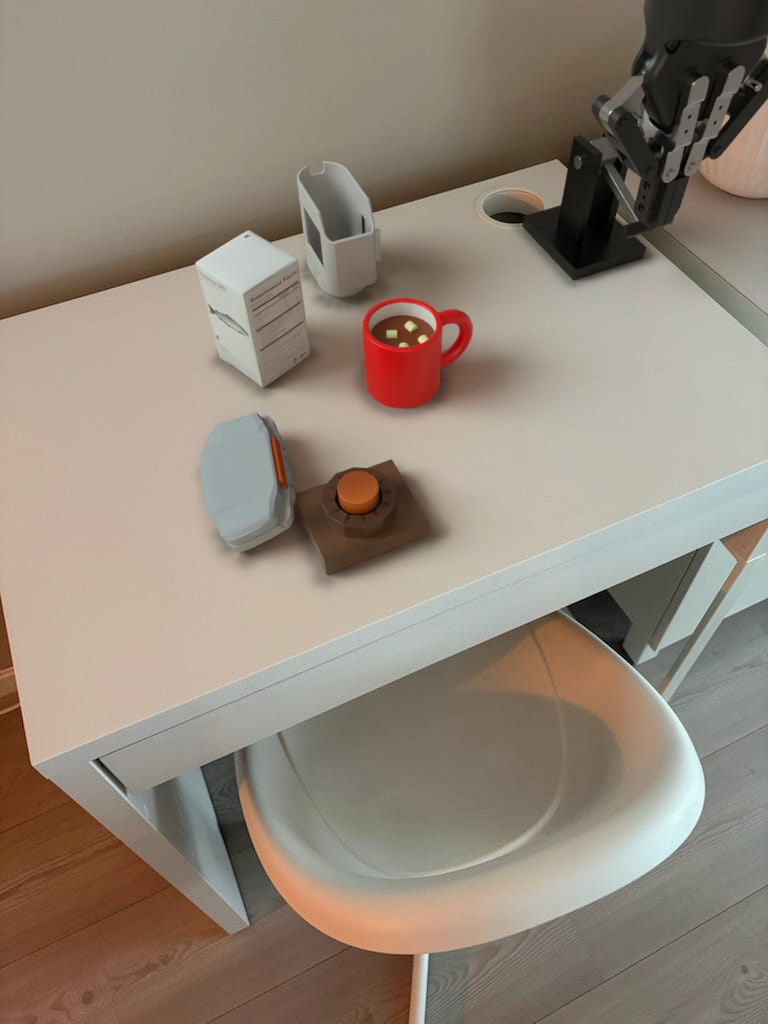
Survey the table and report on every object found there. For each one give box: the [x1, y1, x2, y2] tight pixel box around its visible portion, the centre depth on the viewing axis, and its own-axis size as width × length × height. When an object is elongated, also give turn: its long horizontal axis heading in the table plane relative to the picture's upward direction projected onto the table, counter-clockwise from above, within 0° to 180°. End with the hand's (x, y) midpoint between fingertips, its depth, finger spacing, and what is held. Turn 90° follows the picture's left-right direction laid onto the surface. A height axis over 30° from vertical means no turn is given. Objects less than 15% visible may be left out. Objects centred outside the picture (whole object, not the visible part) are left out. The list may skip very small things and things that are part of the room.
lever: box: [589, 137, 664, 240], centre depth 83 cm, size 12×5×2 cm, turn 24°
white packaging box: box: [194, 229, 311, 389], centre depth 77 cm, size 7×7×13 cm
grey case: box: [199, 411, 296, 553], centre depth 70 cm, size 14×3×8 cm
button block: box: [294, 458, 430, 576], centre depth 68 cm, size 8×10×4 cm
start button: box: [337, 471, 379, 515], centre depth 66 cm, size 4×4×2 cm
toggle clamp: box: [521, 131, 647, 281], centre depth 88 cm, size 12×10×13 cm
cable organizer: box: [296, 160, 382, 299], centre depth 85 cm, size 7×12×12 cm, turn 22°
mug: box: [362, 297, 474, 409], centre depth 77 cm, size 8×12×8 cm, turn 117°
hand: (653, 221), depth 52 cm, fingers closed
